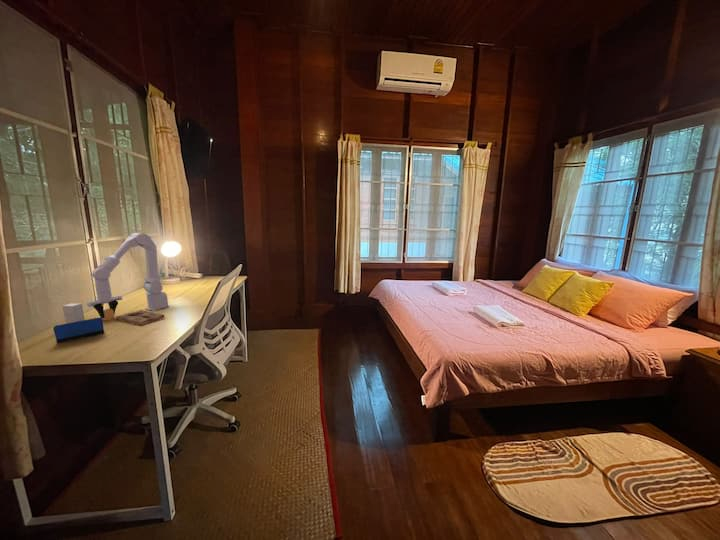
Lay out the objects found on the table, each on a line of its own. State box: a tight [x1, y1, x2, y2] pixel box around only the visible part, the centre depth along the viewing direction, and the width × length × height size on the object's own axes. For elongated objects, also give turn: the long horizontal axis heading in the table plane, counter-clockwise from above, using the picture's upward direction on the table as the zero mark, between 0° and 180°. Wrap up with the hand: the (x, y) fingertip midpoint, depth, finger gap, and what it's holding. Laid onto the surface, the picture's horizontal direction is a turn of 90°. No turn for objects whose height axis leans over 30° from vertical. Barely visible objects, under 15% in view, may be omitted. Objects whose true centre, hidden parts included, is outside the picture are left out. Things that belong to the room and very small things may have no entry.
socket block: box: [115, 309, 165, 326], centre depth 158 cm, size 12×20×2 cm, turn 65°
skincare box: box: [61, 303, 86, 324], centre depth 144 cm, size 6×4×12 cm
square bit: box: [102, 308, 116, 322], centre depth 158 cm, size 4×4×5 cm
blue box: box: [53, 317, 105, 344], centre depth 135 cm, size 16×13×9 cm
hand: (107, 316), depth 159 cm, fingers open, 4 cm apart
